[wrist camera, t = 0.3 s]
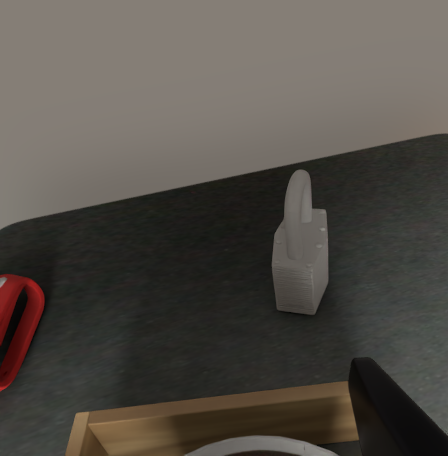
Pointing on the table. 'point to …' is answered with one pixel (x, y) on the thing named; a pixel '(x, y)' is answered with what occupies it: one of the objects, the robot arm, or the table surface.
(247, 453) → the food container
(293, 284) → the padlock
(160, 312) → the table surface
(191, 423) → the desk box
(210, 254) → the table surface
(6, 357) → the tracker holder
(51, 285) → the table surface
